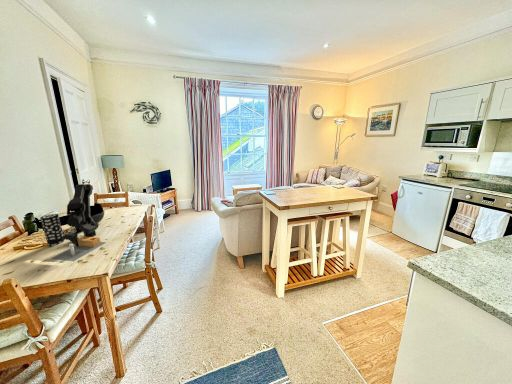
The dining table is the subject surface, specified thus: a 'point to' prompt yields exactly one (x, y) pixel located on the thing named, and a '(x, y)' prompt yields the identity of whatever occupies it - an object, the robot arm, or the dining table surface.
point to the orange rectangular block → (88, 241)
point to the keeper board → (75, 252)
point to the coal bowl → (96, 212)
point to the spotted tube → (52, 229)
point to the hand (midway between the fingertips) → (84, 243)
